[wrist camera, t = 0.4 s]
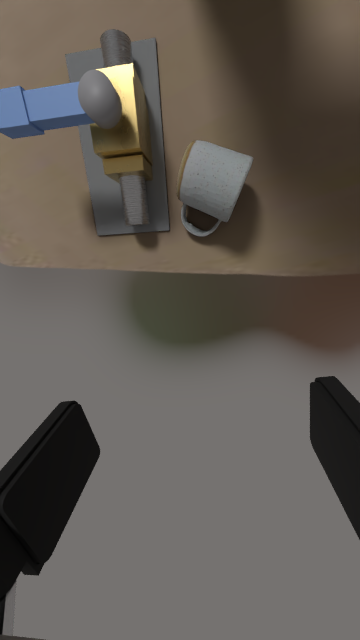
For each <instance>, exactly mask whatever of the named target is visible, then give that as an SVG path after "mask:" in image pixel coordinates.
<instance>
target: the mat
mask: <svg viewBox="0 0 360 640" xmlns="http://www.w3.org/2000/svg"><path fill="white" fill-rule="evenodd" d="M131 46H132V56H133V65H134V68H135V70H136V72H137V75H138V77H139V80H140V82H141V84H142V87H143V89H144V91H145V98H146V106H147V109H148V115H149V127H150V138H151V149H152V160H153V166H151V167H152V175H153V180H150V181H145V184H146V194H147V204H148V213H149V223H150V224H149V225H141V226H126V225H125V217H124V210H123V203H122V196H121V188H120V184H119V183H118V182H116V181H114V180H113V179H111V178H110V177H108V176H106V175H105V174H104V168H103V162H102V159H101V158H100V157H99V156H97V155H96V154H95V153H94V148H93V142H92V136H91V130H90V124H86V125H79V126H78V129H79V134H80V140H81V145H82V151H83V157H84V162H85V168H86V173H87V179H88V184H89V190H90V195H91V201H92V206H93V212H94V218H95V223H96V229H97V234H98V235H112V234H126V233H140V232H153V231H167V230H170V229H169V215H168V201H167V188H166V174H165V160H164V147H163V133H162V119H161V105H160V92H159V78H158V64H157V51H156V39H155V38H151V39H145V40H140V41H135V42H131ZM65 57H66V62H67V68H68V73H69V79H70V83H73V82H79V81H80V79H81V78H82V76H83V75H84V74H85V73H86V72H87V71H89V70H96V69H102V68H104V64H103V57H102V50H101V48H97V49H92V50H87V51H81V52H76V53H70V54H65Z"/></svg>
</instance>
